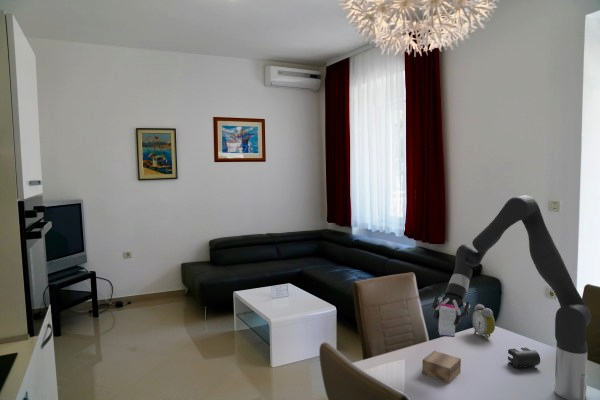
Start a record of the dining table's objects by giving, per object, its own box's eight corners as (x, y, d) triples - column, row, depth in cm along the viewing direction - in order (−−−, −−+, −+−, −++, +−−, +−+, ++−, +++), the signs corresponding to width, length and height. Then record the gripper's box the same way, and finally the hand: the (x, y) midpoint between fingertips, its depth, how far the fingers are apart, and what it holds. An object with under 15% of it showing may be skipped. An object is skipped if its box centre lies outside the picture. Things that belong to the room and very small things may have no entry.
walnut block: (460, 373, 163) (460, 358, 163) (449, 383, 155) (449, 368, 155) (434, 364, 171) (434, 350, 170) (422, 374, 163) (422, 359, 162)
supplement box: (455, 337, 160) (456, 309, 159) (439, 336, 161) (440, 307, 160) (453, 331, 166) (454, 304, 165) (437, 330, 167) (438, 303, 166)
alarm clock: (470, 332, 204) (471, 302, 203) (483, 331, 205) (483, 302, 204) (485, 341, 193) (486, 310, 192) (498, 340, 194) (499, 309, 193)
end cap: (518, 371, 164) (518, 355, 164) (506, 363, 171) (507, 347, 171) (540, 369, 166) (541, 353, 166) (527, 361, 173) (528, 345, 173)
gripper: (438, 279, 172) (425, 313, 165) (473, 286, 162) (461, 322, 155) (443, 289, 176) (431, 322, 169) (477, 296, 167) (465, 331, 159)
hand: (445, 322), depth 162 cm, fingers closed on supplement box, 7 cm apart
